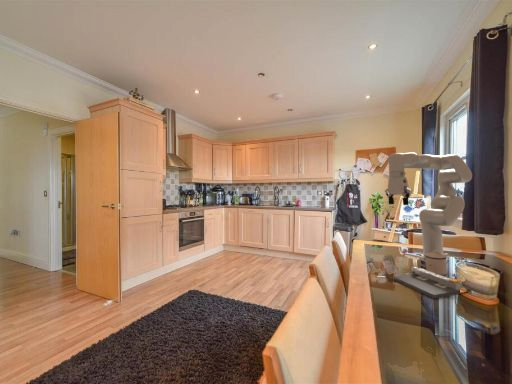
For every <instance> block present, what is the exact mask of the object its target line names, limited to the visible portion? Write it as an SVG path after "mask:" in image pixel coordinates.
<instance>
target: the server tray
mask: <svg viewBox="0 0 512 384" xmlns="http://www.w3.org/2000/svg"><path fill="white" fill-rule="evenodd" d="M393 281H396V282H398V283H400V284H402V285H404V286H406V287H408V288H411V289H413V290H415V291H417V292H419V293H422V294H424V295H426V296H428V297H430V298H432V299H440V298H443V297H449V296H450V297H451V296H454V295H460V294H459V293H460V289H453V288H451V287H448V286H446V285H443V284H441V283H438V282H435V281H433V280H430V279H428V278H425V277H423V276H420V275H417V274H414V273H412V272H411V273H408V274H407V273H406V274H401V275H395V276H393Z"/></svg>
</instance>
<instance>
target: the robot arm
mask: <svg viewBox="0 0 512 384" xmlns="http://www.w3.org/2000/svg"><path fill="white" fill-rule="evenodd" d="M405 169H417V170H418V169H419V170H420V169H422V170H423V169H425V170H426V169H427V170H433V171H434V170H435V171H436V170H437V171H439V173H438V174H437V182H438V185H439V186H438V187H439V190H438V191H437V193H436V194H435V196H434V197H433V198H432V199H431V202H430V207H431V208H424V209H421V210H420V212H419V215H418V216H419V222H420V225H421V232H422V234H421V236H422V251H423V252H422V253H423V256H421V257H425V254H426V253H430V252H433V250H437V252H439V253H441V254H443V255H445V256H446V257H450V254H449V253H444V244H443V243H444V242H443V231H442V229H441V226H442V227H451V226H453V225H454V224H455V223H457V221H458V219H459V217H460V216H461V214H462V212H463V211H464V209H465V206H466V205H465V204H466V203H465V200H464V198H463V197H462V196H460V195H457V190H456V188H455V187H454V186H453V184H464V183H465V184H466V183H469V182H470V181H471V180H472V179H473V173H472V171H471V170H472V169H470V168H469V166H468V164H467V163H466V162H465V161H464V160H463V158H461V157H460V156H459V155H457V154H456V153H453V154H445V155H436V154H435V155H433V154H419V155H418V154H417V153H416V152H405V153H403V152H396V153H390V154H389V155H388V173H389V175H388V177H389V178H388V185H387V188H386V189H384V192H385V196H387V198H388V205H394V204H395V199H394V196H395V195H396V196H397V195H398V196H399V195H401V196H402V197H403V198H402V205H403V206H409V205H410V204H409V203H410V202H409V199H410V197H411V195H412V192H413V189H412V188H409V183H408V179H407V176H405V175H406V174H407V172H405ZM420 261H422V262H425V263H426V261H425V259H420ZM447 263H448V261H447V259H446V264H447Z"/></svg>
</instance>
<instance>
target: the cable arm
mask: <svg viewBox="0 0 512 384" xmlns="http://www.w3.org/2000/svg"><path fill="white" fill-rule="evenodd" d="M410 268H411V271H410V272H411V274H412V273H414V274H417V275H420V276H423V277H425V278H428V279H430V280H433V281H435V282H438V283H441V284H443V285H446V286H448V287H451V288H453V289H461V288H462V282H461V280H459V279H456V278H449V277H446V276H444V275H439V274H436V273H433V272H430V271H427V270H426V269H424V268H422V267H419V266H417V265H416V266H415V265H414V266H413V265H412V266H411V267H410Z"/></svg>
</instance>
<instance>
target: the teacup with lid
mask: <svg viewBox="0 0 512 384" xmlns="http://www.w3.org/2000/svg"><path fill="white" fill-rule="evenodd" d="M421 259H425V261H426V262H425V264H423V263H421ZM446 260H447V257H446V256H445V255H443V254H441V253H439V252H437V250H433V252H430V253H426V254H425V257H422V256H420V257H419V258H418V260H417V261H418V263H419V265H420V266H421V267H423V268H424V267H425V270H427V271H430V272H433V273H436V274H439V275H441V276H444V275H446V274H447V273H448V270H447V269H448V268H447V263H446Z"/></svg>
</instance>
